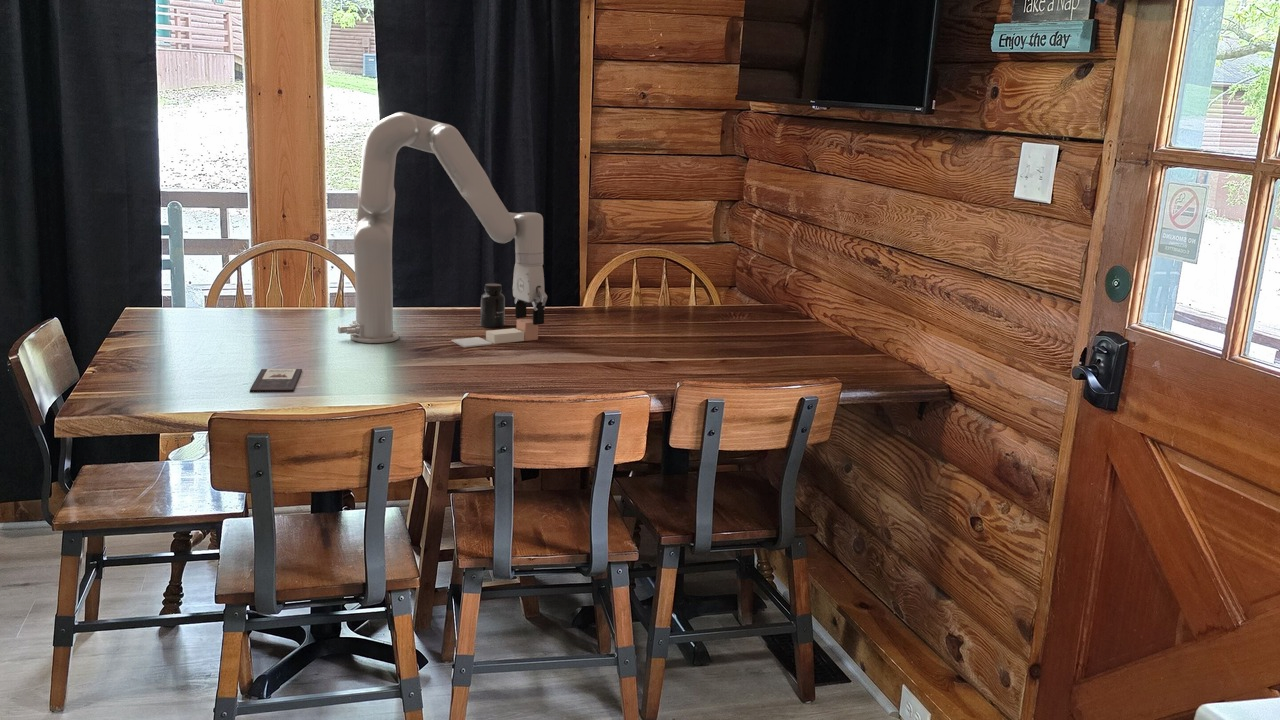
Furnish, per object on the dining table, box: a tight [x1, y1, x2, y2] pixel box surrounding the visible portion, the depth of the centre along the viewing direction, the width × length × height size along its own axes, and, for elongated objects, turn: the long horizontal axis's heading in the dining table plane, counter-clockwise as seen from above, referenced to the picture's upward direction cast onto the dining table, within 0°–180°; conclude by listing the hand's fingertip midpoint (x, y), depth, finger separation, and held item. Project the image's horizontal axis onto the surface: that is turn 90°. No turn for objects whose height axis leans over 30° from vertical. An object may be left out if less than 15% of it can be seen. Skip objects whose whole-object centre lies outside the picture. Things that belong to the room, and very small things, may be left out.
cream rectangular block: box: [485, 327, 524, 345], centre depth 285 cm, size 9×5×3 cm, turn 125°
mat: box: [451, 336, 493, 348], centre depth 280 cm, size 8×8×1 cm
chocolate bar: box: [249, 368, 303, 393], centre depth 236 cm, size 9×1×18 cm
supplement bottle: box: [480, 283, 506, 329], centre depth 301 cm, size 7×7×12 cm
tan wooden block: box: [515, 318, 539, 342], centre depth 288 cm, size 4×5×5 cm
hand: (529, 320), depth 288 cm, fingers open, 9 cm apart
